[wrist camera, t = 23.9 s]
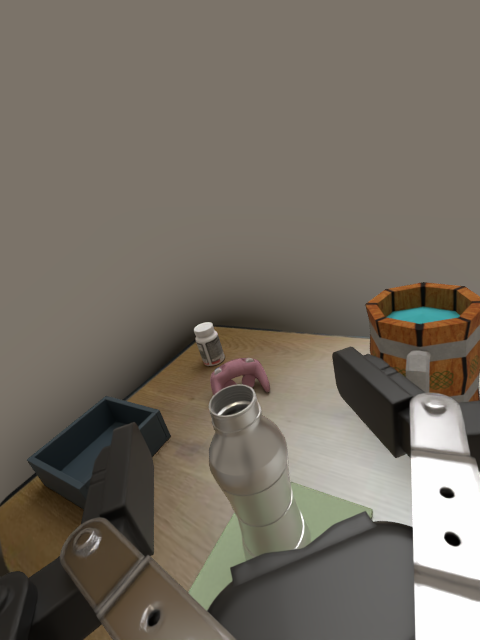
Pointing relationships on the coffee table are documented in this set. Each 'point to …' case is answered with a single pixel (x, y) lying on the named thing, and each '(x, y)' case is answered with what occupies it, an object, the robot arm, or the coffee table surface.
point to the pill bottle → (209, 344)
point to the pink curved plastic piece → (239, 374)
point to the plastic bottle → (254, 473)
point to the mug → (429, 336)
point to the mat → (229, 547)
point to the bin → (92, 445)
